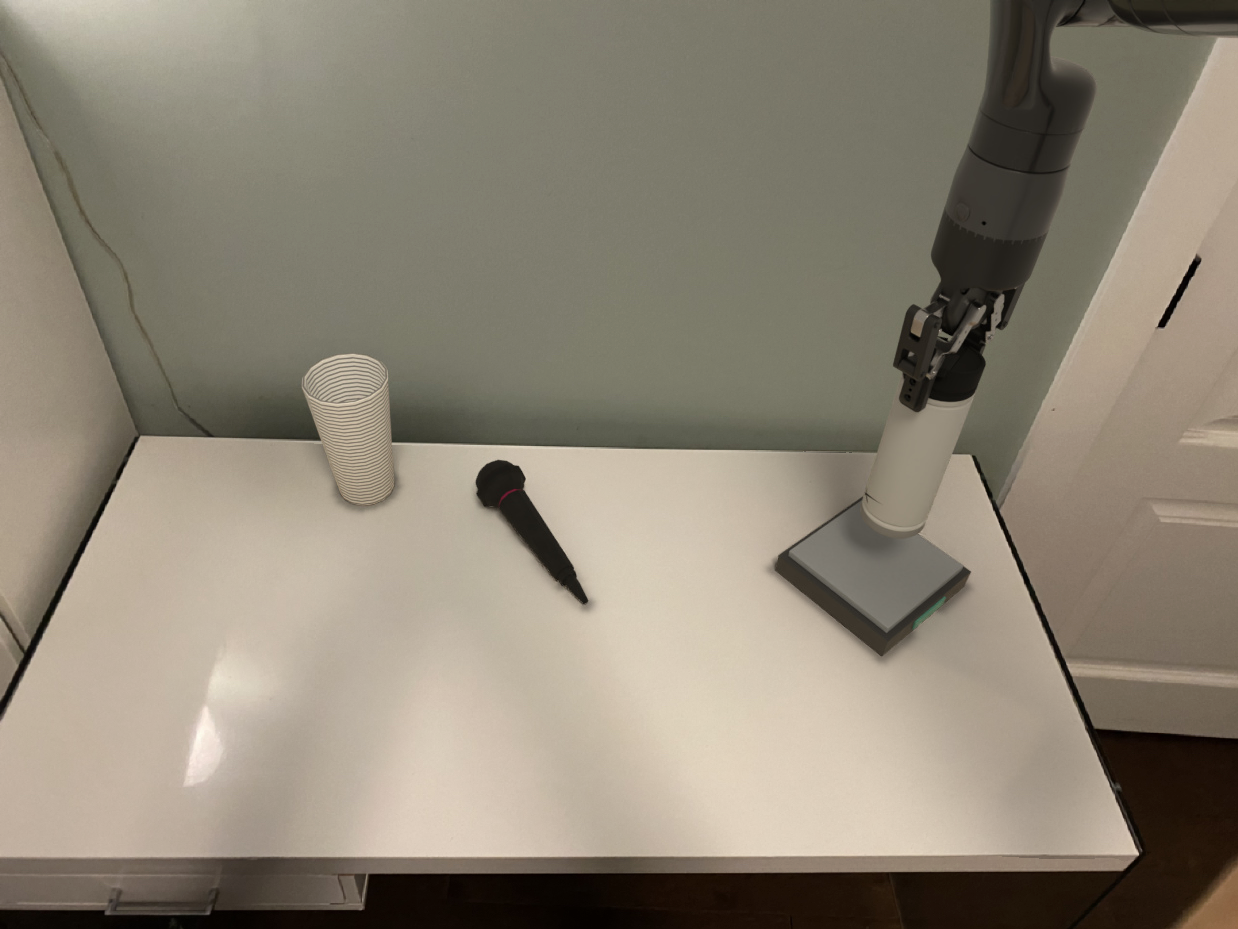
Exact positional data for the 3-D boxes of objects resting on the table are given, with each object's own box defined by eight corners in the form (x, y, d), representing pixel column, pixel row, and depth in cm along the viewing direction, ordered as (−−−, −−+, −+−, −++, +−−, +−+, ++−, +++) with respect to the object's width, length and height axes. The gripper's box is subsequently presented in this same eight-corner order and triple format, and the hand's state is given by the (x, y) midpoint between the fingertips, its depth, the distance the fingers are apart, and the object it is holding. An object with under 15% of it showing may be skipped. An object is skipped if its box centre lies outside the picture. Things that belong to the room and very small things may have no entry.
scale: (966, 587, 95) (975, 567, 93) (883, 658, 88) (891, 638, 86) (858, 510, 103) (864, 490, 100) (774, 570, 96) (779, 549, 93)
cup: (380, 523, 98) (358, 412, 88) (312, 501, 100) (283, 390, 90) (420, 473, 104) (404, 364, 94) (356, 453, 106) (333, 344, 96)
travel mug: (847, 523, 88) (898, 353, 75) (874, 485, 92) (928, 318, 79) (908, 552, 86) (973, 382, 72) (933, 512, 90) (999, 344, 76)
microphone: (596, 613, 94) (501, 483, 104) (616, 576, 91) (516, 445, 101) (554, 627, 91) (460, 490, 101) (573, 589, 87) (474, 452, 97)
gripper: (988, 262, 61) (922, 447, 73) (1094, 203, 69) (1020, 380, 80) (897, 219, 65) (848, 400, 77) (1006, 167, 73) (947, 340, 84)
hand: (936, 389), depth 78 cm, fingers closed on travel mug, 6 cm apart
